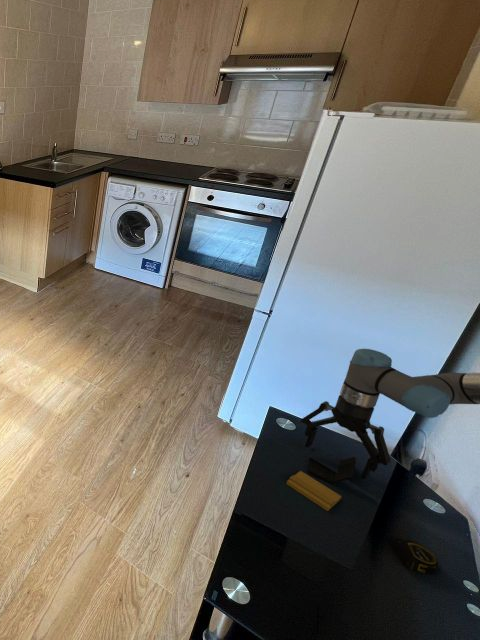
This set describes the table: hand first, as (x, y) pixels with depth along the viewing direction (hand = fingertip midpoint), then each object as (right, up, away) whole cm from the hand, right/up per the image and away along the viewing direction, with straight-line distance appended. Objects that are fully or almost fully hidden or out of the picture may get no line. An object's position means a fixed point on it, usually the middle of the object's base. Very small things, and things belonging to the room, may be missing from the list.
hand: (335, 460), depth 121 cm
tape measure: (-4, -13, -24) cm, 27 cm away
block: (-11, -6, -5) cm, 14 cm away
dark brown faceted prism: (0, -5, +2) cm, 5 cm away
